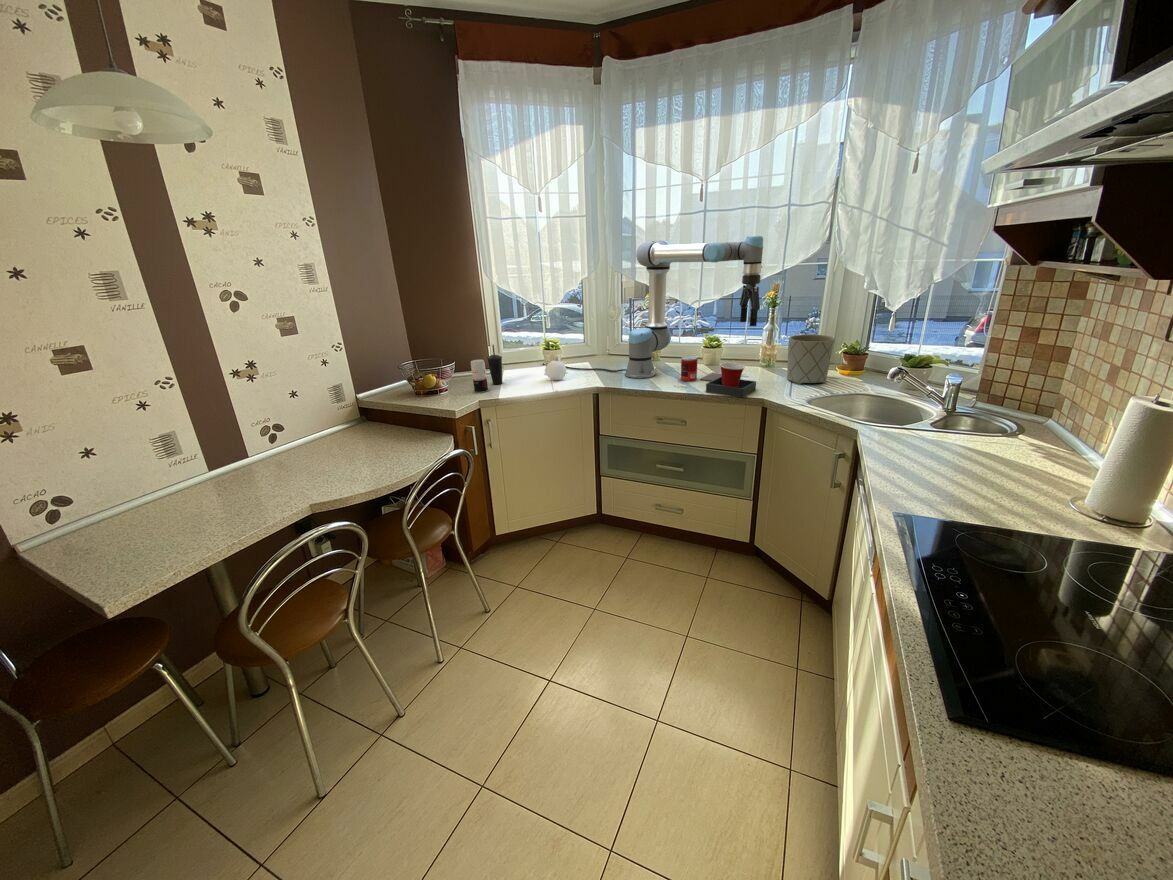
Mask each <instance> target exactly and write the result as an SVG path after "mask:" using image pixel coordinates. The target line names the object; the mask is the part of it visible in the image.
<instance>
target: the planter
mask: <svg viewBox="0 0 1173 880" xmlns="http://www.w3.org/2000/svg"><path fill="white" fill-rule="evenodd" d="M835 340H836V338H835V337H833V336H829V335H826V334H825V335H824V334H795V335H791V336H789V337H788V346H787V367H786V369H787V371H786V372H787V373H786V378H787V380H789V381H791V382H793V383H794V384H796V385H801V384H816V383H817V384H818V383H822V384H825V383H826V381H827V379H828V374H829V369H830V364H831V360H832V355H833V350H834V346H835Z"/></svg>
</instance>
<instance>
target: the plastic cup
mask: <svg viewBox="0 0 1173 880" xmlns="http://www.w3.org/2000/svg"><path fill="white" fill-rule="evenodd" d="M719 367H720V372H721V373H720V374H722V384H723V386H729V387H736V388H738V385H739V382H740V379H741V377H742V374H743V372H744V370H745V368H746V366H745V365H742V364H740V363H734V362H722V363H720V364H719Z"/></svg>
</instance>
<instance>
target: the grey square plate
mask: <svg viewBox="0 0 1173 880" xmlns="http://www.w3.org/2000/svg"><path fill="white" fill-rule="evenodd" d="M719 377H722V374H721V373H718V372H717V373H716V372H712V373H709V374H708V375H707V374H706V375H705V376H703V377H701V378H699V381H705V382H711V381H713V380H715V379H717V378H719Z"/></svg>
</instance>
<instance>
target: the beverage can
mask: <svg viewBox="0 0 1173 880" xmlns="http://www.w3.org/2000/svg"><path fill="white" fill-rule="evenodd" d="M470 369H471V375H472V382H473V390H474V392H475V393H478V394H480V393H486V392H488V391H489V387H488V386H489V385H488V379H487V377H488V376H487V371H486V364H485V360H484V359H473V360H471V361H470Z"/></svg>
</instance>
